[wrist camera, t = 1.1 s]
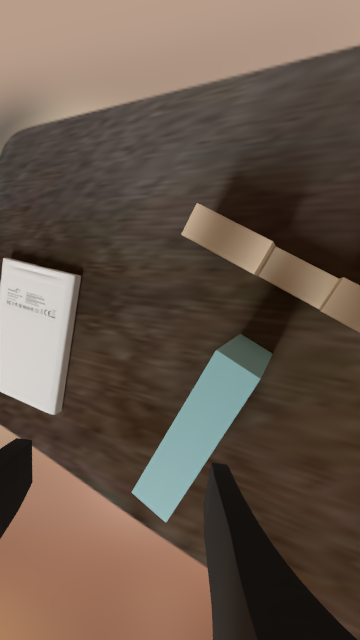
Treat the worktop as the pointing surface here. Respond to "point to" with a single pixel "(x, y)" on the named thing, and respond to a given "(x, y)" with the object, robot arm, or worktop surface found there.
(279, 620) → the robot arm
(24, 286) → the external hard drive
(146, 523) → the worktop surface
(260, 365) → the teal notched block
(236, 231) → the birch slotted rail
